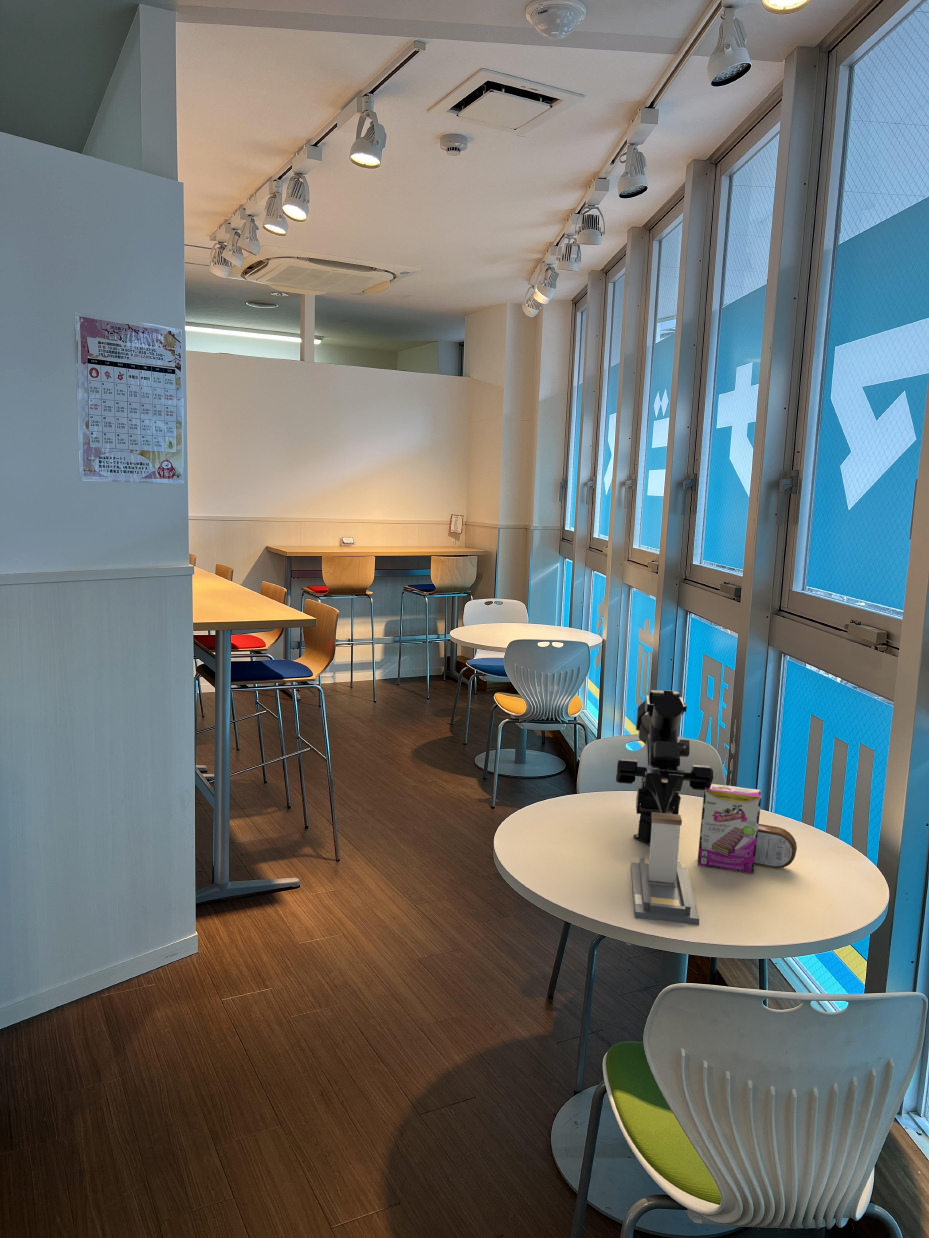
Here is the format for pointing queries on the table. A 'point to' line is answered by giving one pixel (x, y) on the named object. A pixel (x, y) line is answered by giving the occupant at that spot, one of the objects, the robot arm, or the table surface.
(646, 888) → the switch housing
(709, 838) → the candy bar box
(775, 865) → the tin
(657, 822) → the switch tab
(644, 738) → the robot arm
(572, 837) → the table surface
